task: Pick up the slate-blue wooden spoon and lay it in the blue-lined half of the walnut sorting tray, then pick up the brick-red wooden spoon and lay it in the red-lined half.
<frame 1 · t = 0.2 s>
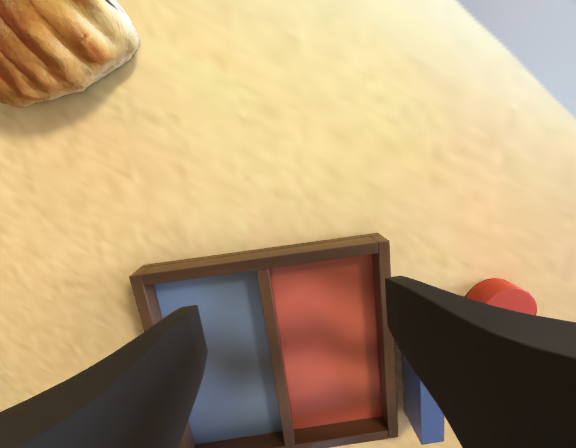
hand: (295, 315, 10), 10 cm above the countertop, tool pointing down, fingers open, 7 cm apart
red spoon: (488, 337, 23), on the countertop
sorting tray: (276, 346, 22), on the countertop
blue spoon: (411, 348, 23), on the countertop
pastry: (72, 42, 17), on the countertop
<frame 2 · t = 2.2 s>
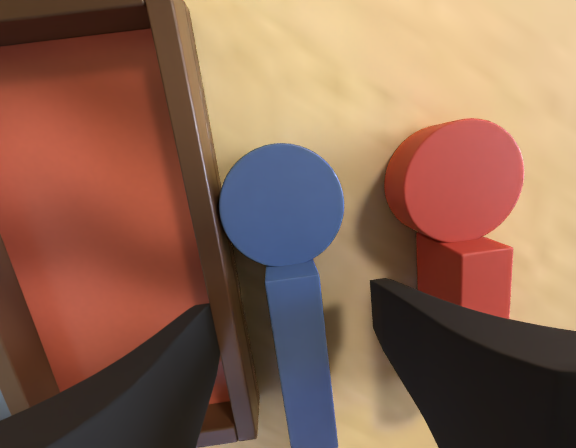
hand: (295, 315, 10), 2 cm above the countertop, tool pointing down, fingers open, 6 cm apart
red spoon: (435, 250, 12), on the countertop
sorting tray: (21, 262, 11), on the countertop
blue spoon: (290, 271, 12), on the countertop
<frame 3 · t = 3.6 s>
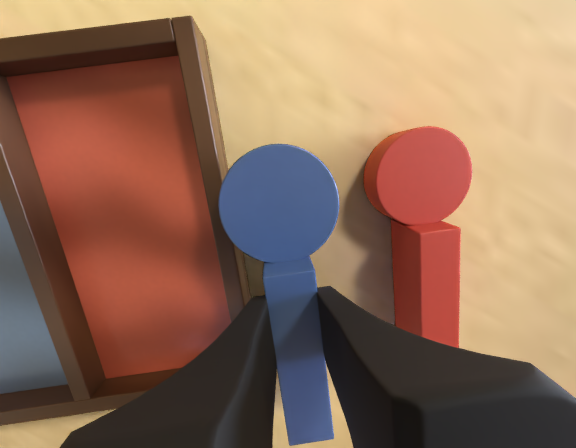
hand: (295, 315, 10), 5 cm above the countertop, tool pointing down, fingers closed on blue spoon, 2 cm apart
red spoon: (407, 234, 15), on the countertop
sorting tray: (66, 243, 14), on the countertop
blue spoon: (287, 268, 12), point 2 cm above the countertop, touching gripper
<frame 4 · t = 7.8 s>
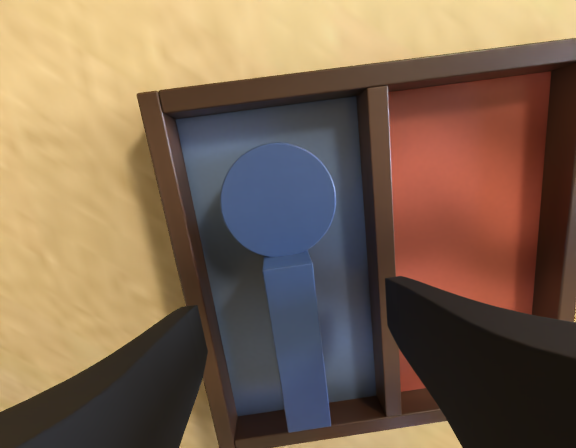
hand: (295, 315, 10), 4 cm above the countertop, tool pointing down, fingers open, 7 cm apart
sorting tray: (370, 258, 14), on the countertop
blue spoon: (287, 262, 13), point 1 cm above the countertop, touching sorting tray
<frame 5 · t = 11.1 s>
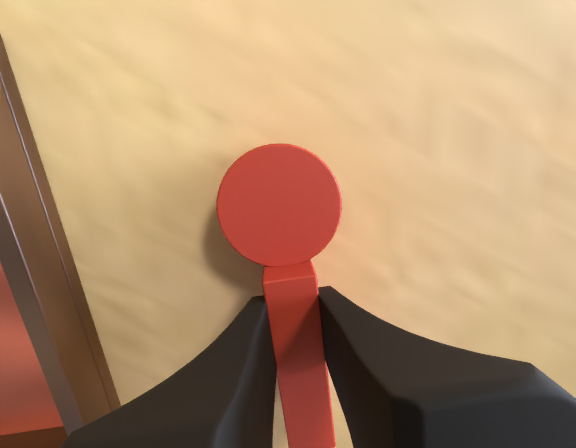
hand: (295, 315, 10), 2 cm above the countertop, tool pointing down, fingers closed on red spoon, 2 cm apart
red spoon: (288, 271, 12), on the countertop, touching gripper
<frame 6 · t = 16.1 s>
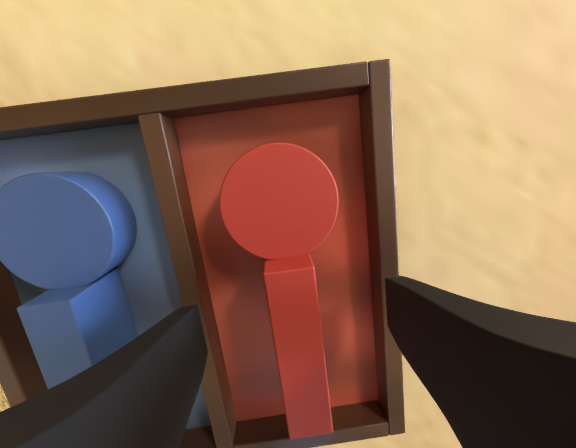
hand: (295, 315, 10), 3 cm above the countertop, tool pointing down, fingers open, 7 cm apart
red spoon: (288, 265, 13), point 1 cm above the countertop, touching sorting tray
sorting tray: (204, 283, 13), on the countertop
blue spoon: (104, 290, 12), point 1 cm above the countertop, touching sorting tray
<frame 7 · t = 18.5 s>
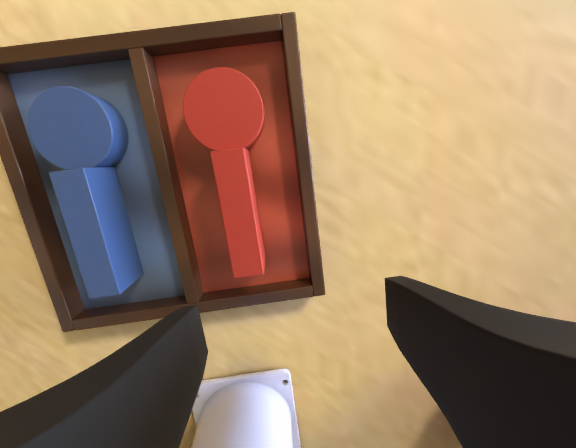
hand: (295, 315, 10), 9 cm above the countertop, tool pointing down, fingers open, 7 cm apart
red spoon: (237, 167, 17), point 1 cm above the countertop, touching sorting tray
sorting tray: (178, 185, 18), on the countertop
blue spoon: (105, 184, 17), point 1 cm above the countertop, touching sorting tray
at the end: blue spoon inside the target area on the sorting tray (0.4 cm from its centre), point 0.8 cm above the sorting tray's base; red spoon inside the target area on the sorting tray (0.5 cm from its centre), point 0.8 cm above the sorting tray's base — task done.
